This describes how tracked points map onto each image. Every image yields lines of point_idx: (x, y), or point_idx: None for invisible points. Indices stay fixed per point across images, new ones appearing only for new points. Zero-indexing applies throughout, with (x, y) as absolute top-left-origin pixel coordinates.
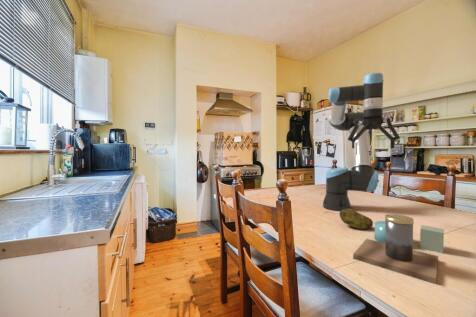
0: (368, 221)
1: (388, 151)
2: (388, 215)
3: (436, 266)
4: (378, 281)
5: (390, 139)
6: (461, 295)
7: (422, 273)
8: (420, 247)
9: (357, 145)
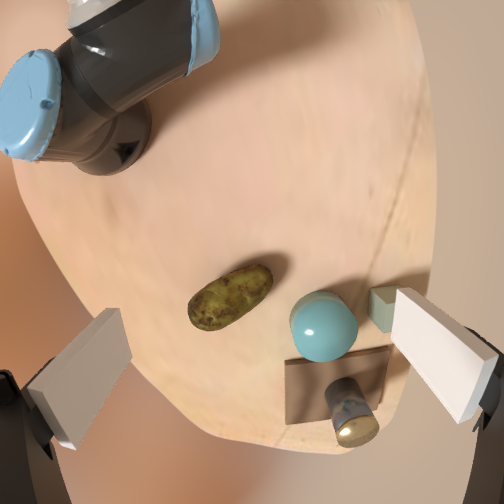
0: (265, 294)
1: (409, 359)
2: (342, 436)
3: (382, 383)
4: (323, 438)
5: (482, 423)
6: (391, 405)
7: None
8: (368, 315)
9: (70, 369)
